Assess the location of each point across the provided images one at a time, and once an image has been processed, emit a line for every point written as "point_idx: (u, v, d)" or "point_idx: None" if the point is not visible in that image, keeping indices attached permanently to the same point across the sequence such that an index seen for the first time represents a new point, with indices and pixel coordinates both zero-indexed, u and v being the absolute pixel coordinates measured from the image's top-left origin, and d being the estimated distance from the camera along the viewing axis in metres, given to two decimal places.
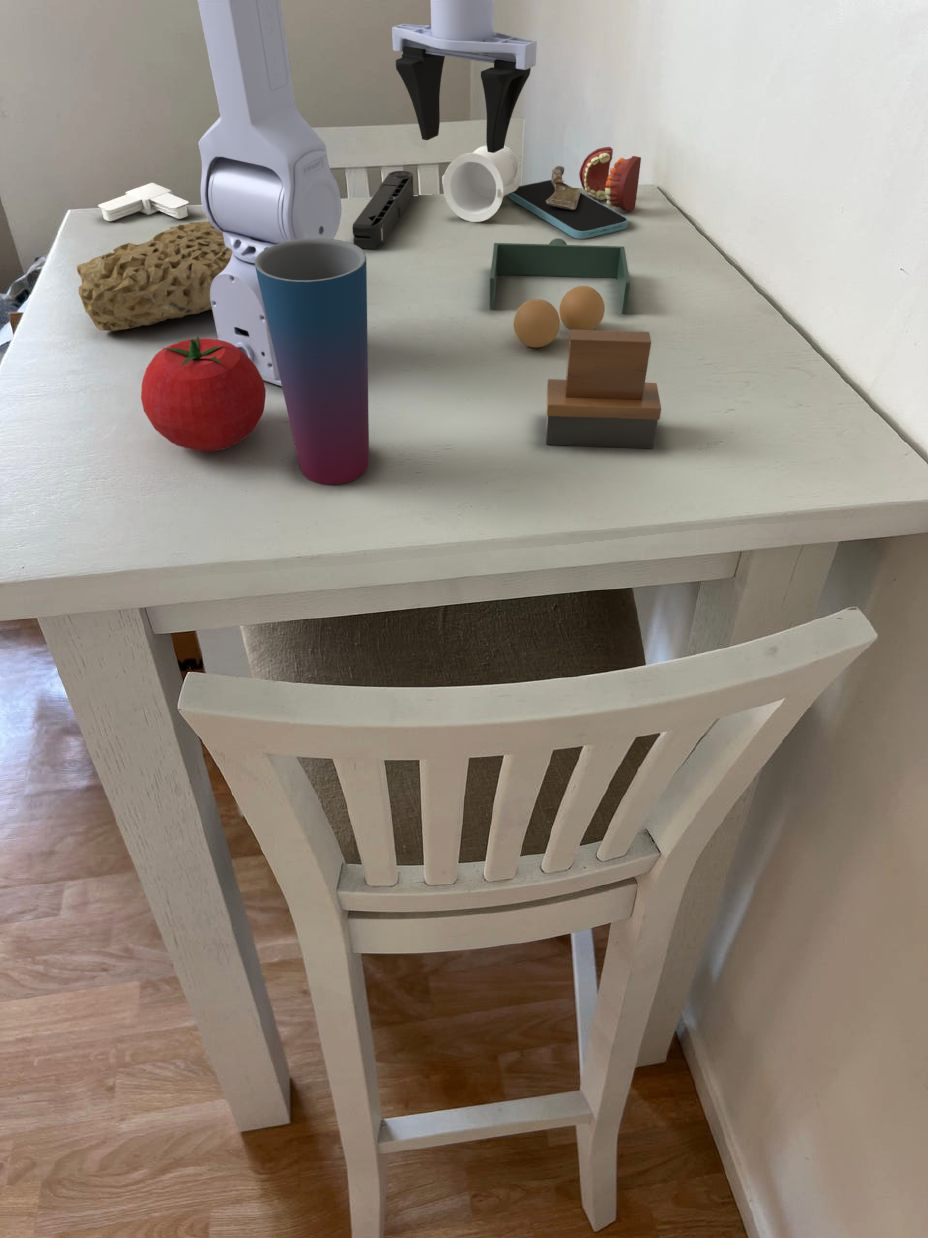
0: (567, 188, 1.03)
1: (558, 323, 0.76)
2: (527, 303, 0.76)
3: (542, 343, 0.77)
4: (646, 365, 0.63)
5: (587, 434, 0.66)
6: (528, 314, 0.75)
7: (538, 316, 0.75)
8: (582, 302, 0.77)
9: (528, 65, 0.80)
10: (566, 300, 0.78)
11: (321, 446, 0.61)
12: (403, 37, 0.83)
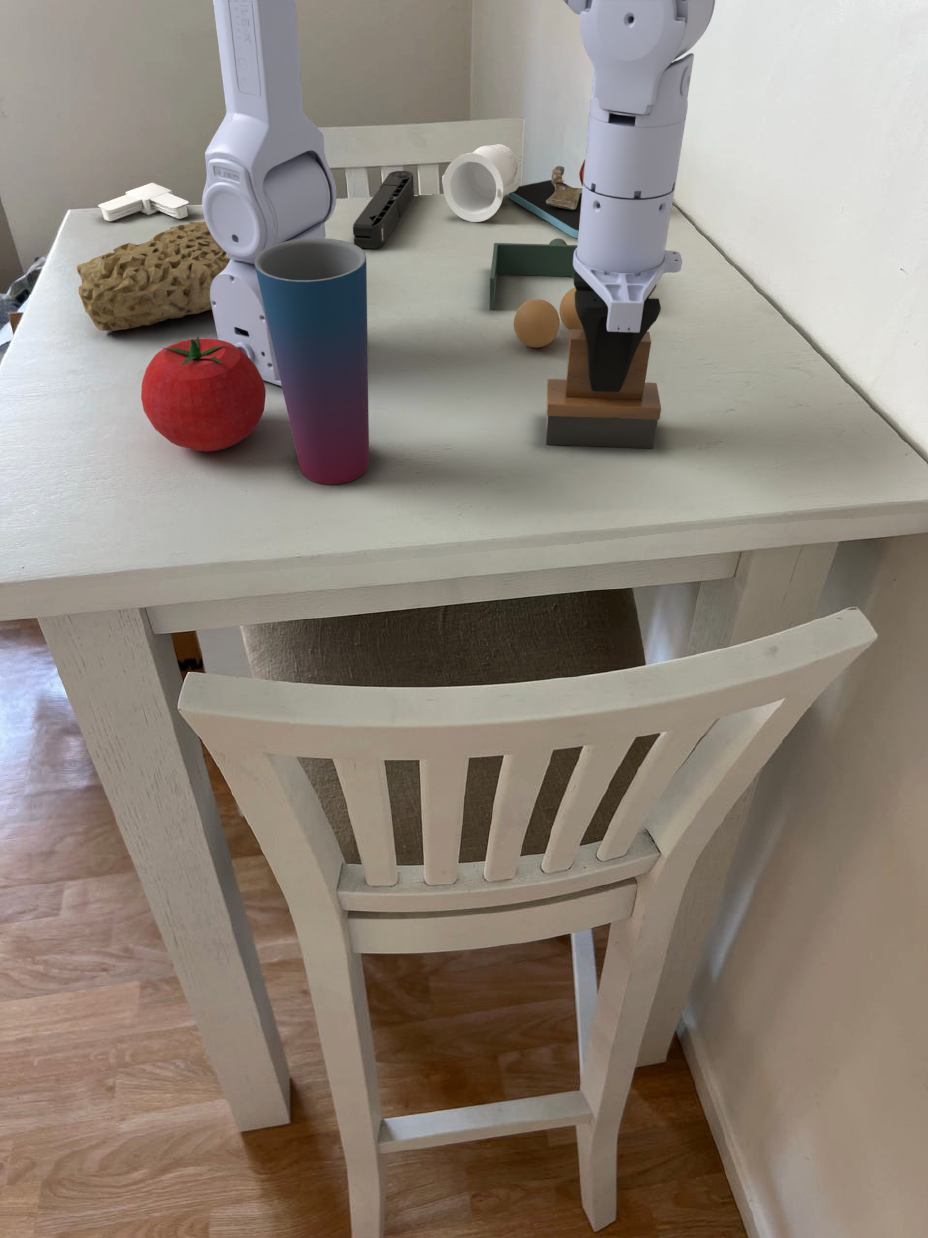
0: (567, 188, 1.03)
1: (558, 323, 0.76)
2: (527, 303, 0.76)
3: (542, 343, 0.77)
4: (646, 365, 0.63)
5: (587, 434, 0.66)
6: (528, 314, 0.75)
7: (538, 316, 0.75)
8: None
9: (617, 328, 0.54)
10: (566, 300, 0.78)
11: (321, 446, 0.61)
12: None
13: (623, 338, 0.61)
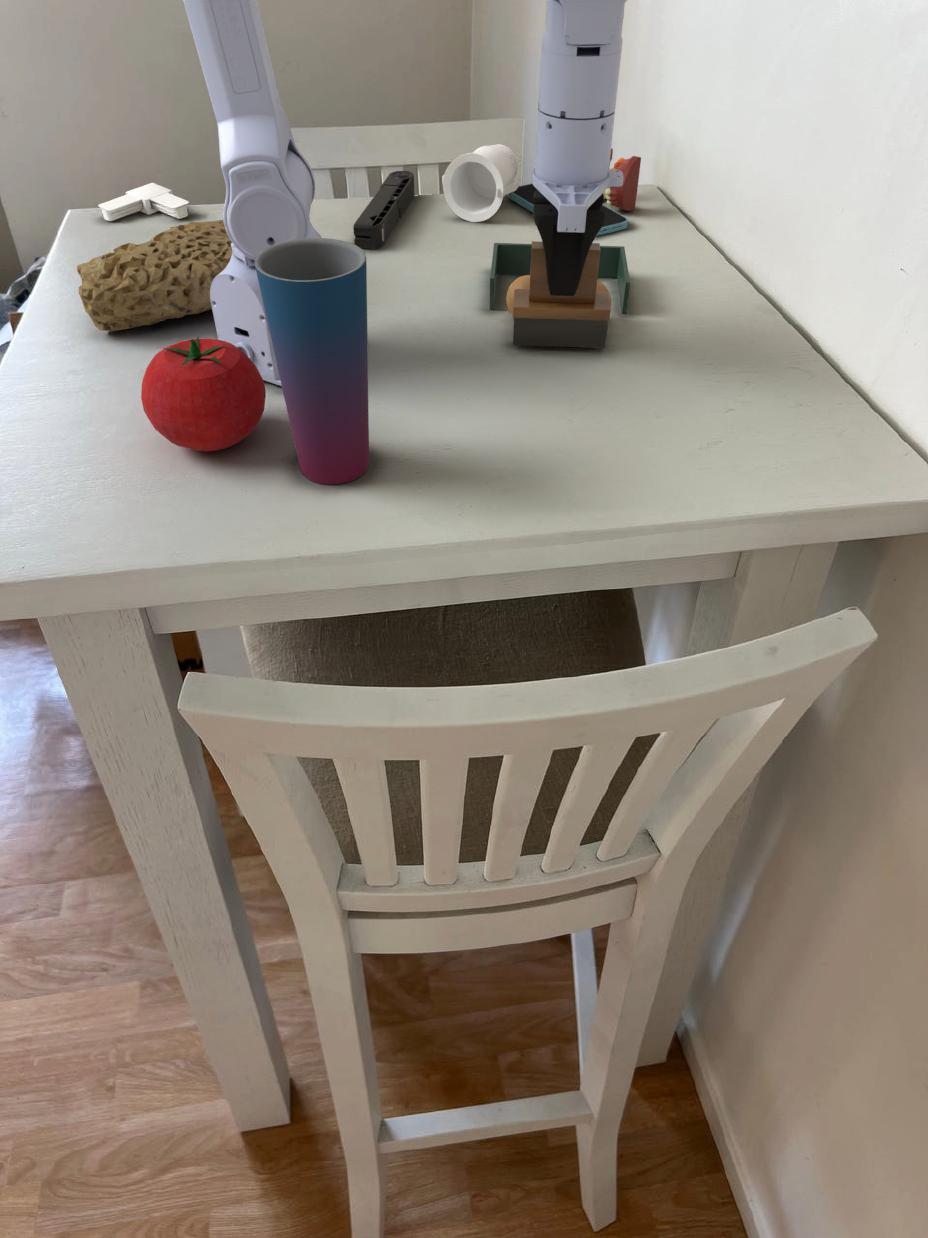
0: None
1: None
2: None
3: None
4: (597, 271, 0.73)
5: (548, 335, 0.77)
6: None
7: None
8: None
9: (566, 229, 0.65)
10: None
11: (321, 446, 0.61)
12: None
13: (575, 246, 0.71)
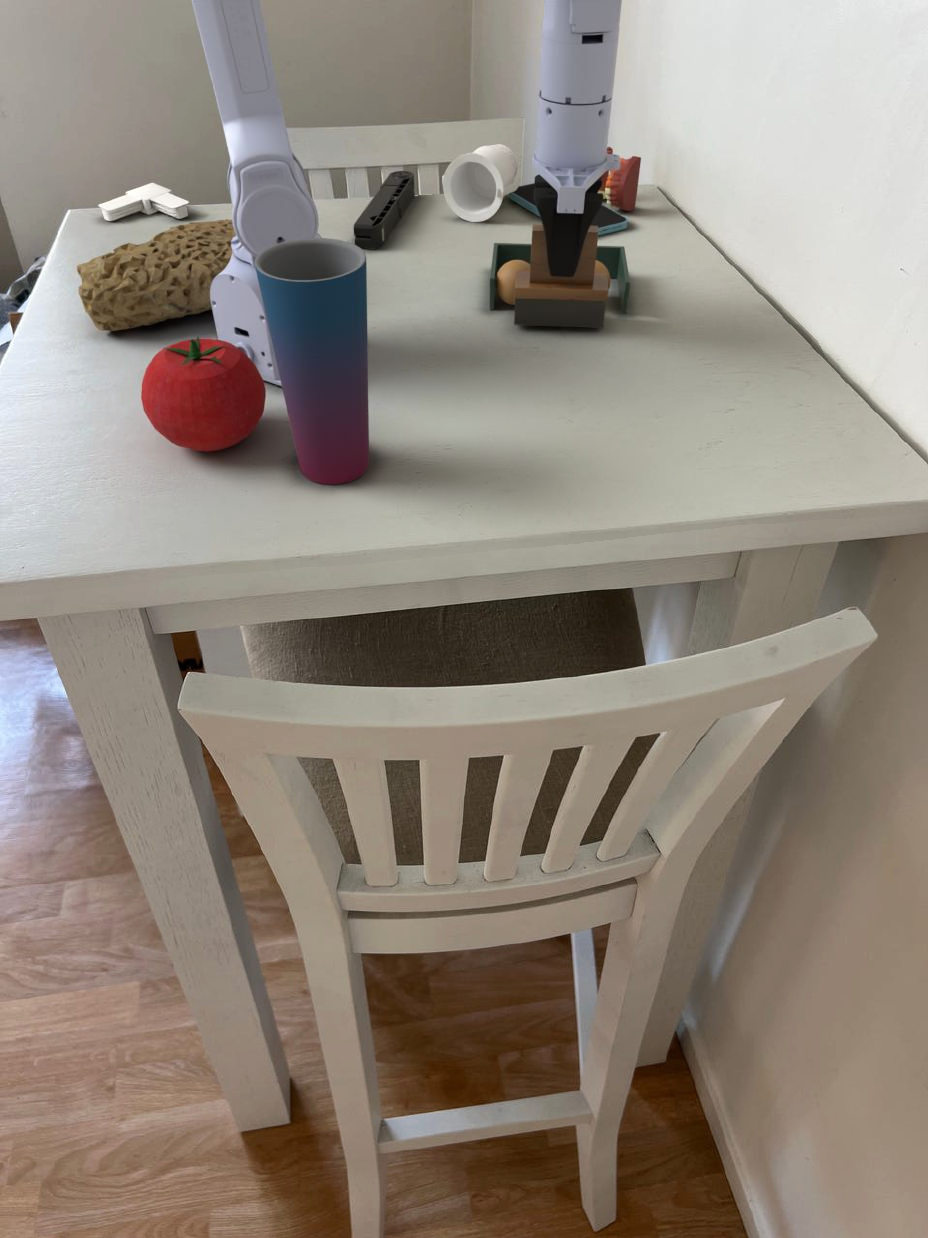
0: None
1: None
2: None
3: None
4: (595, 253, 0.76)
5: (548, 315, 0.79)
6: None
7: None
8: None
9: (565, 210, 0.68)
10: None
11: (321, 446, 0.61)
12: None
13: (574, 228, 0.74)
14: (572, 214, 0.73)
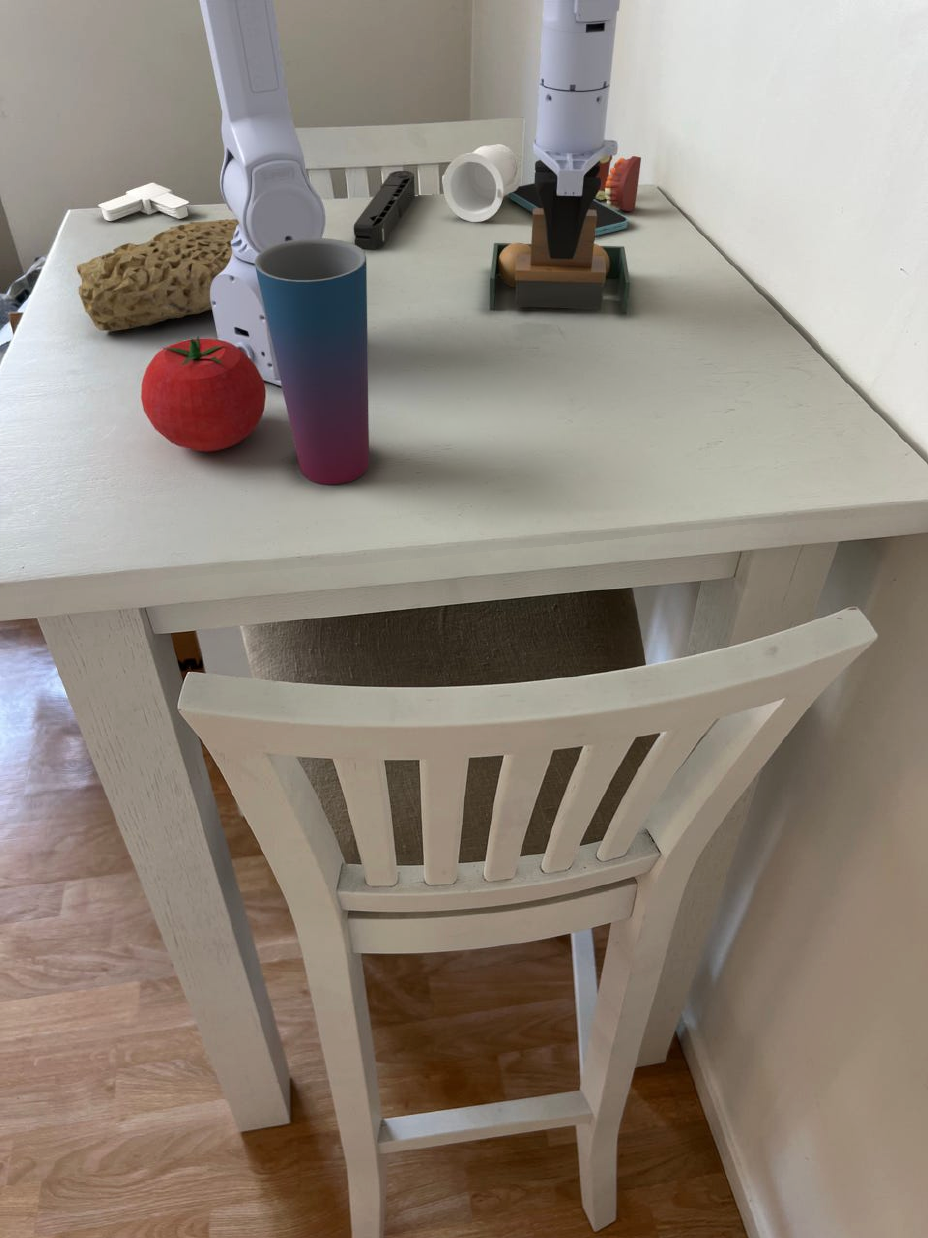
0: None
1: None
2: (522, 243, 0.85)
3: (511, 280, 0.86)
4: (593, 236, 0.79)
5: (548, 296, 0.82)
6: (517, 249, 0.84)
7: None
8: None
9: (564, 192, 0.71)
10: None
11: (321, 446, 0.61)
12: None
13: (573, 211, 0.77)
14: (571, 198, 0.76)
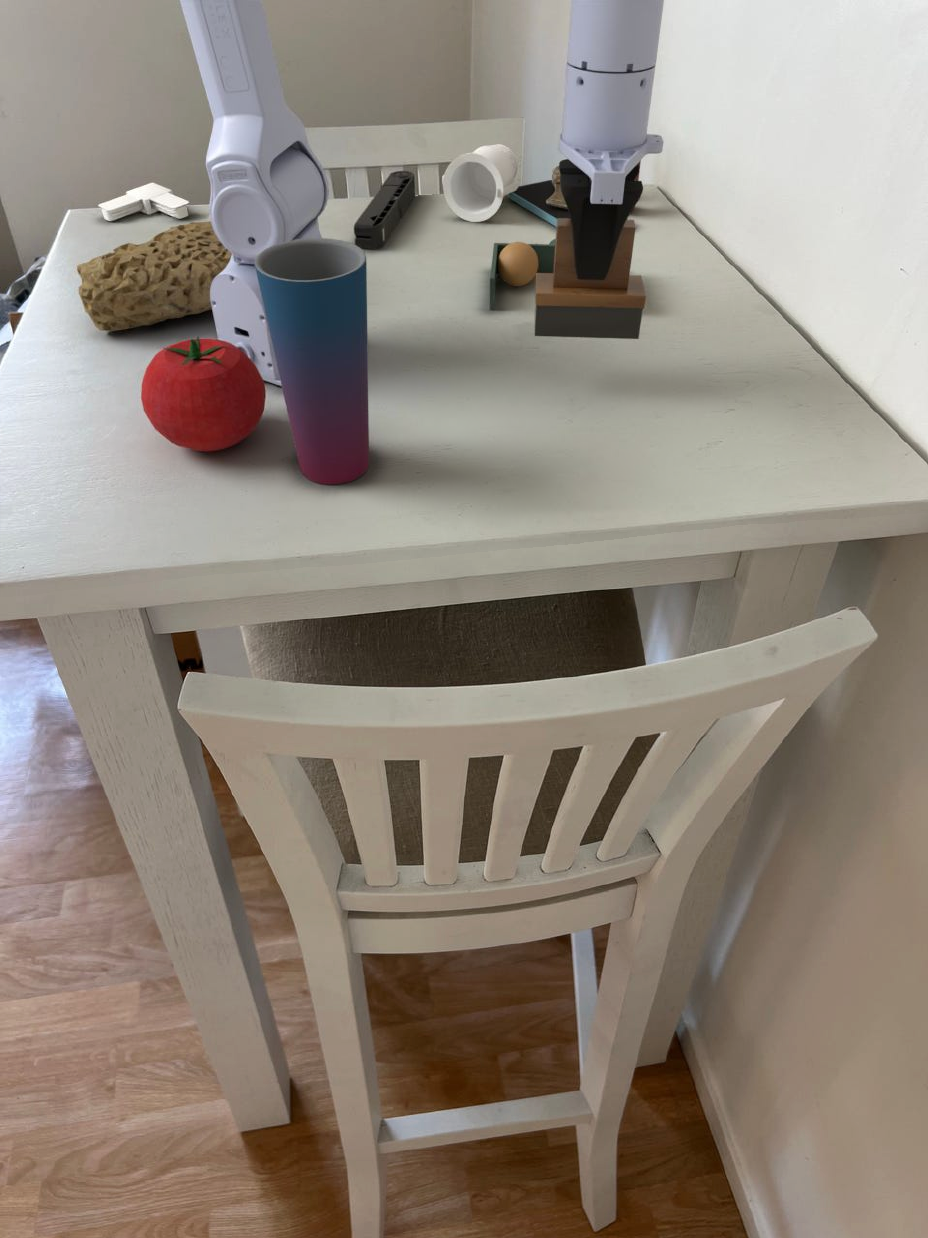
0: None
1: (533, 274, 0.86)
2: (522, 242, 0.86)
3: (511, 277, 0.86)
4: (631, 252, 0.65)
5: (574, 324, 0.68)
6: (517, 246, 0.85)
7: (523, 253, 0.84)
8: None
9: (601, 200, 0.56)
10: None
11: (321, 446, 0.61)
12: None
13: (607, 222, 0.63)
14: (605, 206, 0.62)
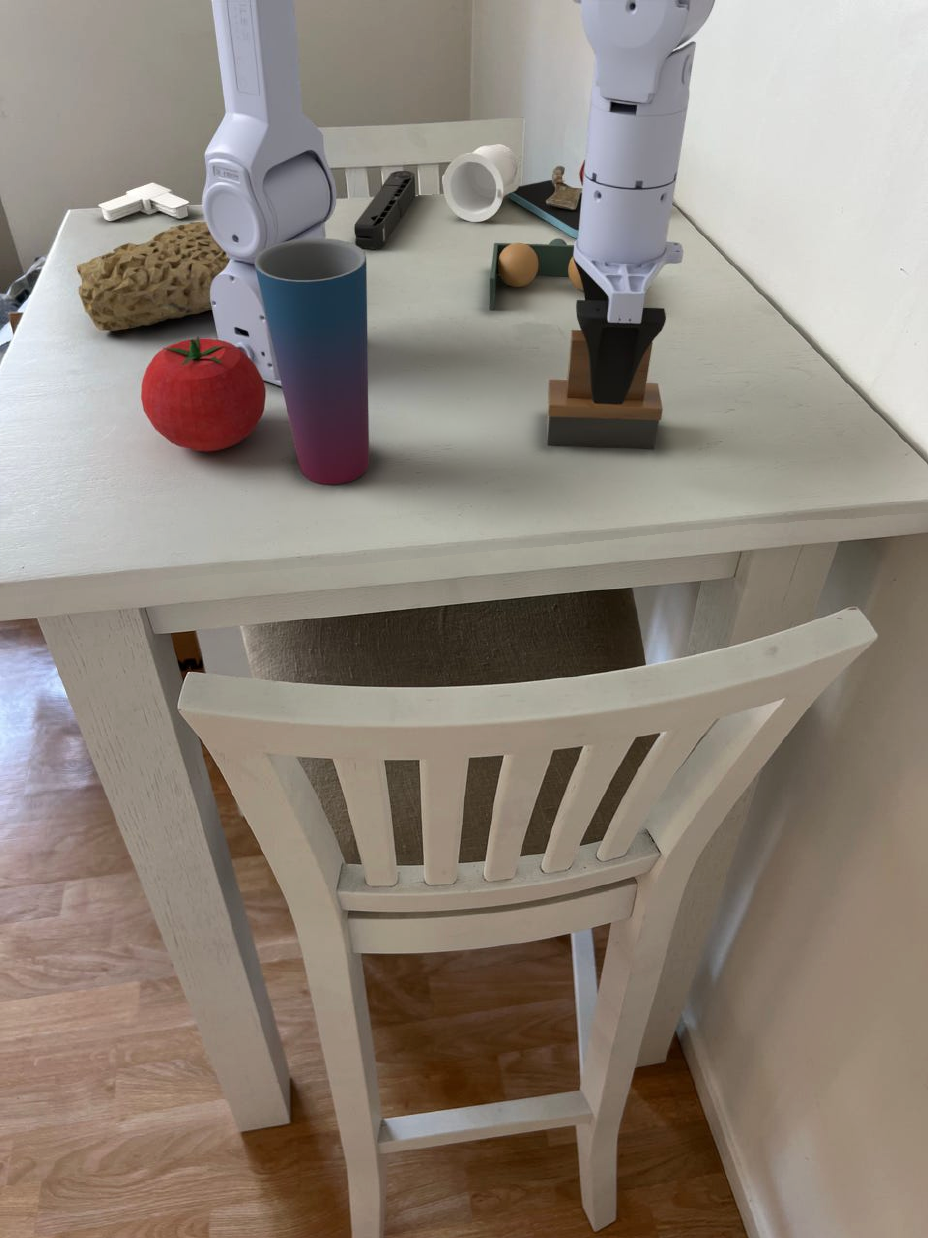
0: (567, 188, 1.03)
1: (532, 276, 0.86)
2: (522, 243, 0.85)
3: (511, 280, 0.86)
4: (647, 365, 0.63)
5: (588, 434, 0.66)
6: (517, 249, 0.84)
7: (523, 257, 0.84)
8: None
9: (618, 319, 0.54)
10: (577, 285, 0.85)
11: (321, 446, 0.61)
12: None
13: (626, 349, 0.58)
14: (624, 333, 0.58)
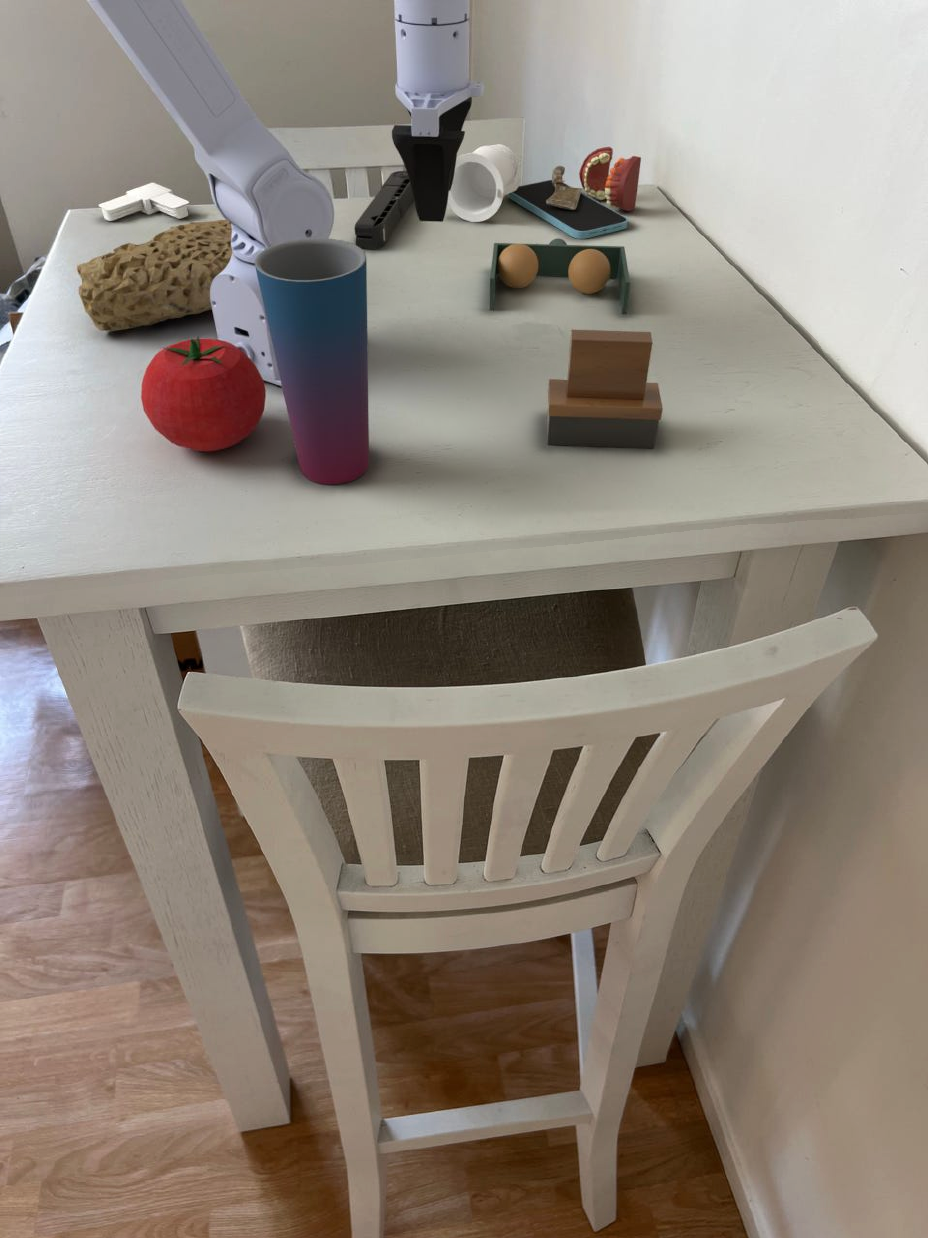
0: (567, 188, 1.03)
1: (532, 278, 0.86)
2: (522, 245, 0.85)
3: (511, 283, 0.86)
4: (647, 365, 0.63)
5: (588, 434, 0.66)
6: (517, 252, 0.84)
7: (523, 260, 0.84)
8: (591, 292, 0.86)
9: (420, 133, 0.67)
10: (577, 289, 0.86)
11: (321, 446, 0.61)
12: None
13: (438, 168, 0.71)
14: (435, 153, 0.71)
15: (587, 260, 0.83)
